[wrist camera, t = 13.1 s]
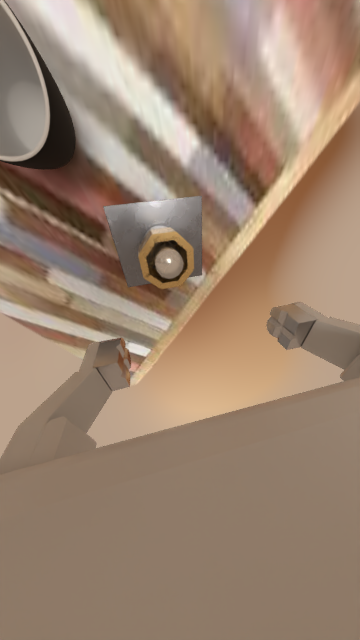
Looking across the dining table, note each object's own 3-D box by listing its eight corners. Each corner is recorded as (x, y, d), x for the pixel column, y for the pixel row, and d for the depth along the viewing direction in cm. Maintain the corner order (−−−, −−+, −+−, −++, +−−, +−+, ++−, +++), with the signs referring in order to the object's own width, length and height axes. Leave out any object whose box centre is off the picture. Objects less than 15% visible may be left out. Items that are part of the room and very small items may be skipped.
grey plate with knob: (129, 280, 31) (123, 318, 21) (106, 206, 24) (81, 207, 14) (197, 269, 33) (223, 300, 22) (195, 196, 25) (233, 191, 15)
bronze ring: (145, 280, 24) (146, 291, 20) (134, 231, 20) (133, 236, 17) (187, 273, 24) (194, 283, 21) (184, 225, 20) (192, 229, 17)
